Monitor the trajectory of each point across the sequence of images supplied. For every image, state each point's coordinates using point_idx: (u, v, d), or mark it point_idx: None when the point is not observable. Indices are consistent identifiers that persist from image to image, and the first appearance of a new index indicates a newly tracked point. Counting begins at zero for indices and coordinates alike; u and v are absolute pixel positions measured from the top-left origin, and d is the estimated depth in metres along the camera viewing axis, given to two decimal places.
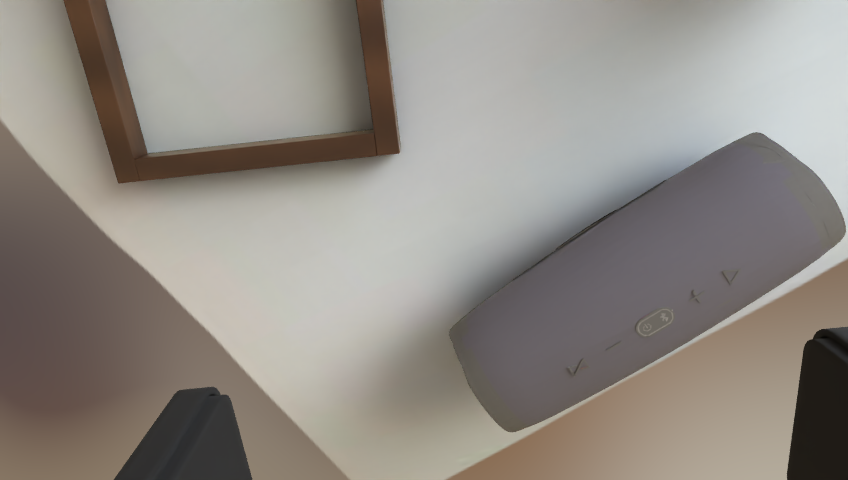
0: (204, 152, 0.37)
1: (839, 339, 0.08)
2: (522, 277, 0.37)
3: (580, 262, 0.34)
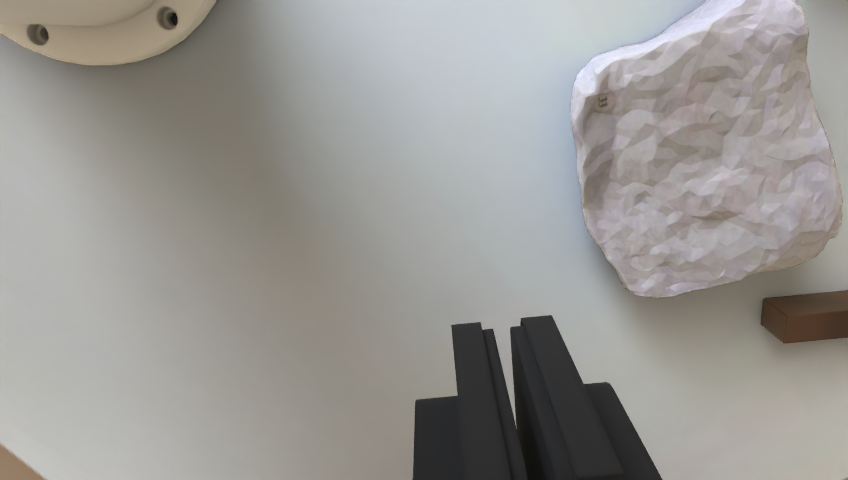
0: None
1: None
2: None
3: None
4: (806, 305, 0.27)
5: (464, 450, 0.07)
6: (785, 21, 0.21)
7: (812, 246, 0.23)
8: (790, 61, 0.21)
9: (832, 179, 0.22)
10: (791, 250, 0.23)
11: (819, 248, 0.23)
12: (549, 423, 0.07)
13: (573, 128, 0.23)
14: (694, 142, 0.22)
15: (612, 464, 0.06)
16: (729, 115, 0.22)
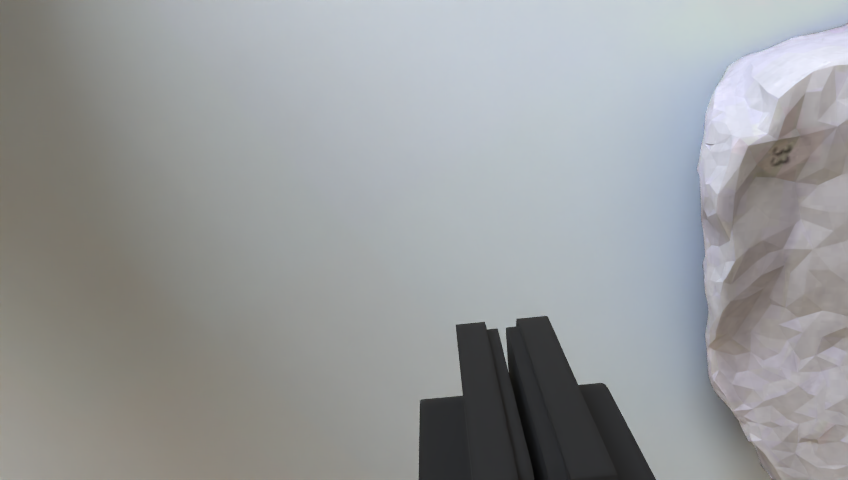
0: None
1: (521, 327, 0.09)
2: None
3: None
4: None
5: (471, 450, 0.07)
6: None
7: None
8: None
9: None
10: None
11: None
12: (543, 424, 0.07)
13: (708, 206, 0.11)
14: None
15: (605, 465, 0.06)
16: None
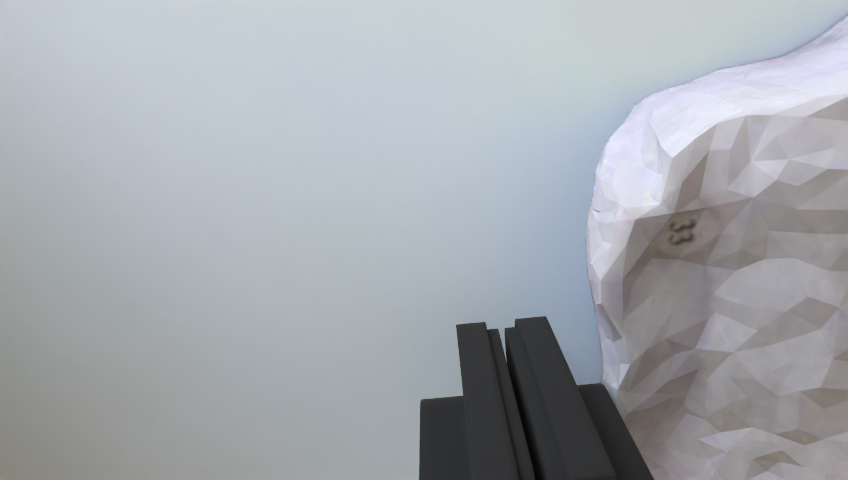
0: None
1: (520, 327, 0.09)
2: None
3: None
4: None
5: (471, 450, 0.07)
6: None
7: None
8: None
9: None
10: None
11: None
12: (542, 425, 0.07)
13: (594, 292, 0.09)
14: None
15: (603, 465, 0.06)
16: None
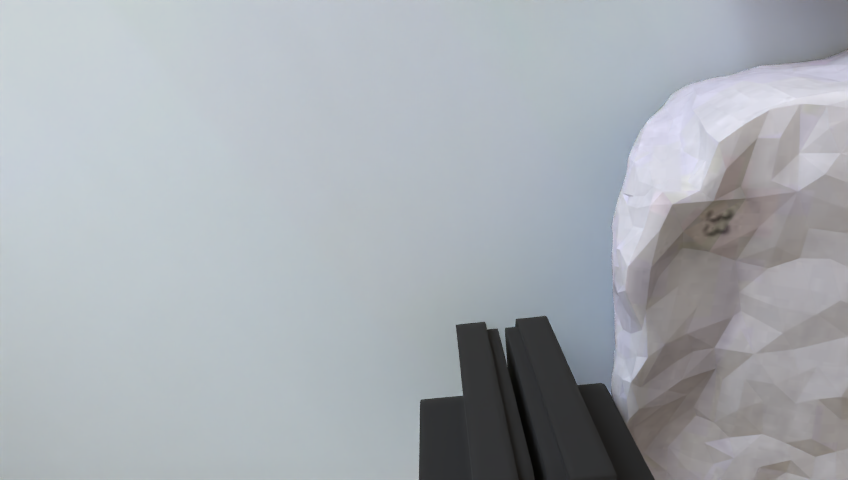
0: None
1: (520, 327, 0.09)
2: None
3: None
4: None
5: (471, 450, 0.07)
6: None
7: None
8: None
9: None
10: None
11: None
12: (542, 424, 0.07)
13: (618, 279, 0.08)
14: None
15: (603, 466, 0.06)
16: None
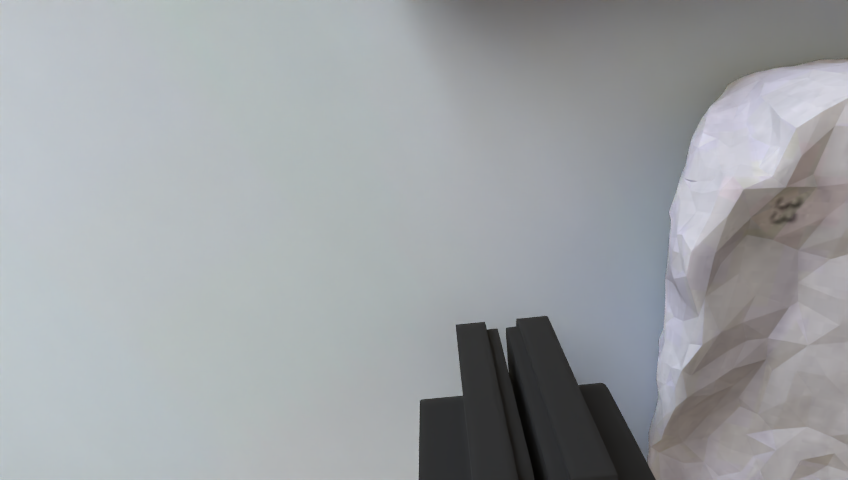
0: None
1: (521, 327, 0.09)
2: None
3: None
4: None
5: (470, 450, 0.07)
6: None
7: None
8: None
9: None
10: None
11: None
12: (543, 424, 0.07)
13: (676, 265, 0.08)
14: None
15: (604, 465, 0.06)
16: None
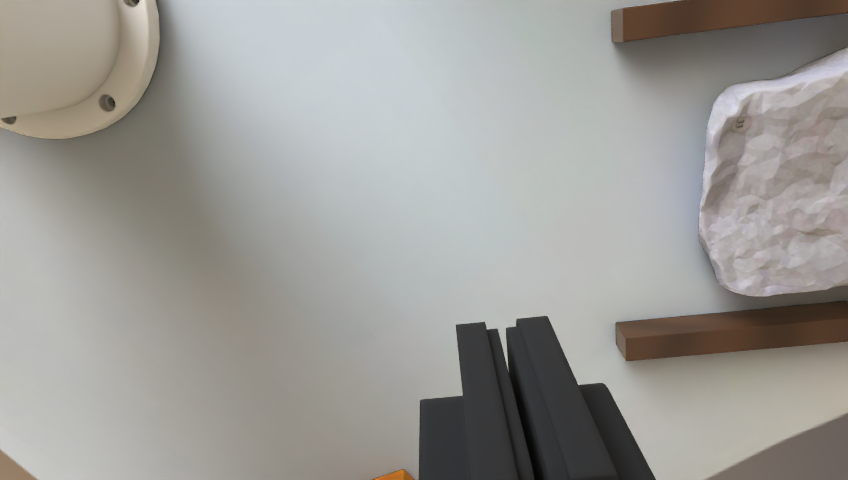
0: None
1: (521, 327, 0.09)
2: None
3: None
4: (646, 329, 0.32)
5: (470, 450, 0.07)
6: None
7: None
8: None
9: None
10: None
11: None
12: (543, 424, 0.07)
13: (708, 142, 0.28)
14: (811, 167, 0.27)
15: (605, 465, 0.06)
16: (844, 149, 0.26)
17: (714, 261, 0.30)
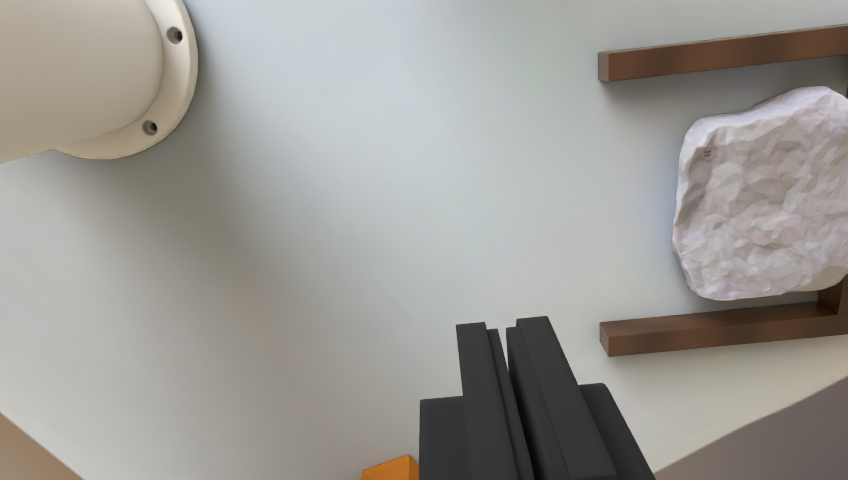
0: None
1: (521, 327, 0.09)
2: None
3: None
4: (626, 328, 0.37)
5: (471, 450, 0.07)
6: (844, 117, 0.30)
7: (834, 277, 0.32)
8: (842, 145, 0.30)
9: None
10: (820, 277, 0.32)
11: (838, 279, 0.33)
12: (543, 424, 0.07)
13: (681, 168, 0.32)
14: (767, 191, 0.31)
15: (605, 466, 0.06)
16: (794, 176, 0.31)
17: (685, 270, 0.34)
